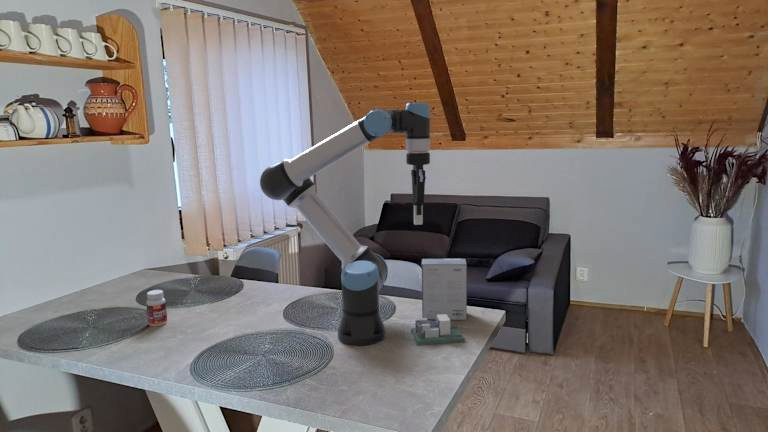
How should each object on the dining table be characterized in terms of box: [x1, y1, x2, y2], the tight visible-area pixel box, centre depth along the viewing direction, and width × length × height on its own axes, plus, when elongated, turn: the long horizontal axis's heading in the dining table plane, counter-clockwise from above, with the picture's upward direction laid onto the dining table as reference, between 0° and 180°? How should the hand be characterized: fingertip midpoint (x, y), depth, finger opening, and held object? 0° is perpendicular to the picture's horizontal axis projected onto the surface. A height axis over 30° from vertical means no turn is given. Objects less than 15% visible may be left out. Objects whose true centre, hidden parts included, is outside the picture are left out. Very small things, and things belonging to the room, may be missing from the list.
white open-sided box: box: [436, 314, 451, 335], centre depth 174 cm, size 3×5×5 cm, turn 6°
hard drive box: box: [421, 258, 468, 321], centre depth 190 cm, size 16×8×20 cm, turn 84°
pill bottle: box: [145, 289, 168, 327], centre depth 188 cm, size 6×6×11 cm
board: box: [411, 317, 465, 346], centre depth 174 cm, size 15×11×5 cm
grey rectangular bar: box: [416, 320, 440, 327], centre depth 173 cm, size 9×3×1 cm, turn 96°
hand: (418, 224), depth 179 cm, fingers closed
